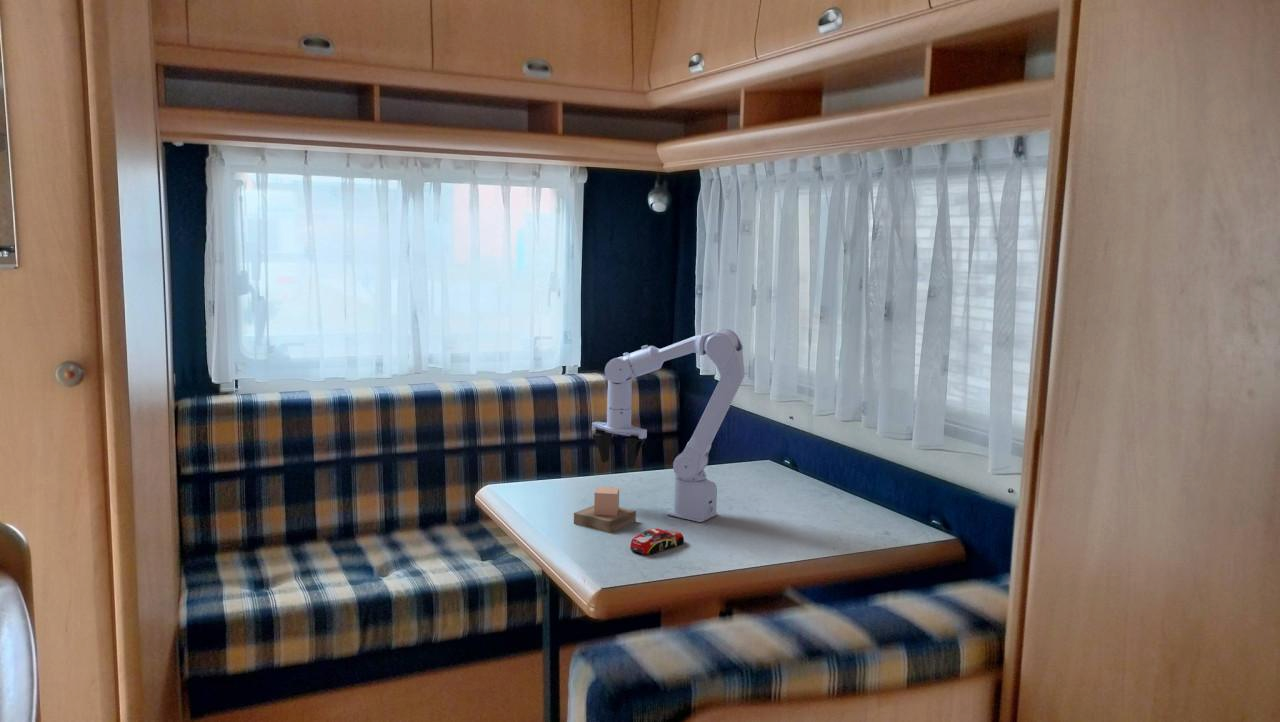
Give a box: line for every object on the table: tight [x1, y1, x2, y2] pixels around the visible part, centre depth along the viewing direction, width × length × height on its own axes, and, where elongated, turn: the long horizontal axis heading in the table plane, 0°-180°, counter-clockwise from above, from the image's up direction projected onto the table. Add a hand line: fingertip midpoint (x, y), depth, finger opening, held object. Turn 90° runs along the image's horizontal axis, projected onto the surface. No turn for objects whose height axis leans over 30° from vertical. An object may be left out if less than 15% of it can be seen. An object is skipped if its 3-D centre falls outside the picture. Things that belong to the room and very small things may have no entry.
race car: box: [630, 527, 685, 555], centre depth 193 cm, size 13×5×4 cm, turn 134°
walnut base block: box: [573, 505, 637, 533], centre depth 208 cm, size 10×10×3 cm
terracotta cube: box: [593, 486, 620, 516], centre depth 208 cm, size 5×5×5 cm
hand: (618, 464), depth 219 cm, fingers open, 7 cm apart
